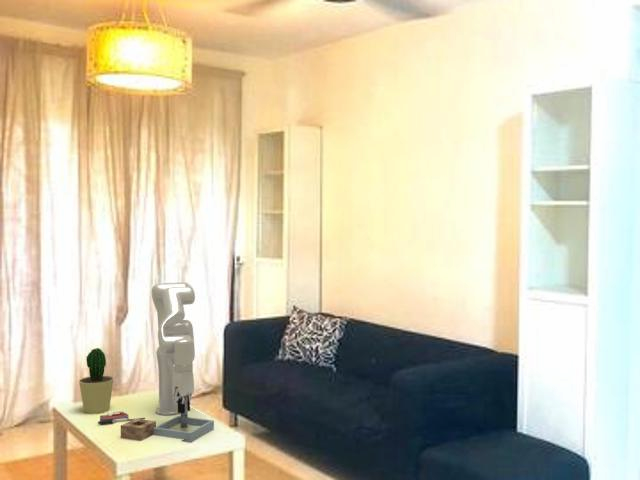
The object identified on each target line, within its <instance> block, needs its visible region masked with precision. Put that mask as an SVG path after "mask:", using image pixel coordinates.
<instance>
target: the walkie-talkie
mask: <svg viewBox="0 0 640 480" xmlns="http://www.w3.org/2000/svg"><path fill="white" fill-rule="evenodd" d="M134 419H135V418H129V413H126V412H125V411H124V410H121V411H120V410H119V411H113V412H111V413H109V412H108V413H107V414H103V415H102V414H101V415H99V421H98V422H97V424H98V425H101V426H105V425H106V426H107V424H108V425H114V424H117V423H122V422H123V423H125V422H126V423H127V422H130V421H132V420H134ZM136 419H143V420H146V417H139V418H138V417H137V418H136Z"/></svg>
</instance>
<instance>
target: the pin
mask: <svg viewBox="0 0 640 480" xmlns="http://www.w3.org/2000/svg"><path fill="white" fill-rule="evenodd" d="M187 395H189V392H188V393H187V394H186V396H184V404H185V413H179V414H180V415H179V416H180V423H179V424H180V427H179V428H180V429H187V428H188V427H189V425H188V417H189V416H188V415H189V414H188V413H189V411H188V397H187ZM180 399H182V398H180Z"/></svg>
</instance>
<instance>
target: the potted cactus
mask: <svg viewBox="0 0 640 480" xmlns="http://www.w3.org/2000/svg"><path fill="white" fill-rule="evenodd" d="M87 352H88V351H87ZM85 358H86V359H85V361H86V362H85V363H86V367H87V368H88V374H89V376H85V377H82V378H80V379H79V380H78V382H79V388H80V393H81V401H82V406H83V407H82V408H83V412H84V413H85V414H87V415H88V414H89V415H97V414H99V415H100V414H103V413H106V412H109V410H110V407H111V400H112V393H113V384H114V377H113V376H110V375H105V371H106V369H107V368H108V366H107V361H106V360H107V356H106V353H105V352H104V351H103V350H102V348H100V347H95V348H94V349H90V352H88V353H87V356H86V355H85ZM105 368H106V369H105Z"/></svg>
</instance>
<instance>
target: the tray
mask: <svg viewBox="0 0 640 480" xmlns="http://www.w3.org/2000/svg"><path fill="white" fill-rule="evenodd" d="M179 424H180V415H178V416H175V417H173V418H171V419H169V420H167V421H165V422H163V423H160V424H159V425H156V427H154V428H153V435H152V436H160V437H166V438H172V439H173V438H175V439H180V440H181V442H183V443H184V442H185V443H193V442H194V441H196V440H197V439H199V438H201V437H202V436H204V435H207V434H208V433H210V432H212V431H214V429H215V420H213V419H205V418H197V417H189V416H188V426H198V427H197V428H194V429H193V430H191V431H185V430H178V429H177V430H176V429H170V428H173V427H174V426H176V425H179Z"/></svg>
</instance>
